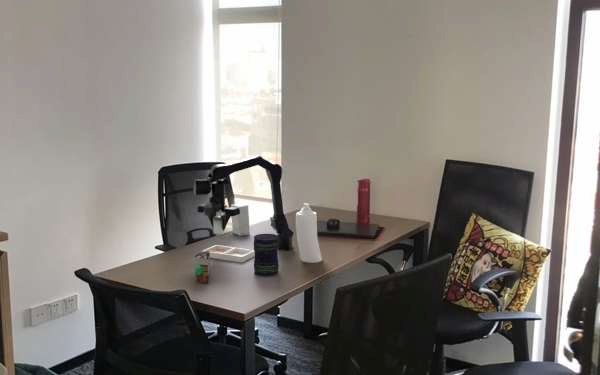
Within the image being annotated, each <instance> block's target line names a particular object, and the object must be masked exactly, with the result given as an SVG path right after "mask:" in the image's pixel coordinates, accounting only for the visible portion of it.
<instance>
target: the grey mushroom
mask: <svg viewBox="0 0 600 375" xmlns="http://www.w3.org/2000/svg"><path fill="white" fill-rule="evenodd" d="M221 216H222V215H216V216H214V217H213V227H212V229H213V234H215V235H222V234H225V230H223V229H222V218H221Z"/></svg>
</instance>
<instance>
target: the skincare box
mask: <svg viewBox="0 0 600 375" xmlns="http://www.w3.org/2000/svg"><path fill="white" fill-rule="evenodd" d="M230 206H231V207H236V208H239V210H240V214H238V215H236V216H231V224H232V225H231V227H232V228H231V229H232V233H233V234H235V235H238V236H249V235H250V230H251V229H250V216H249V205H248V204H245V203H241V202H240V203H234V204H231V205H230Z"/></svg>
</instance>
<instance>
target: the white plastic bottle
mask: <svg viewBox="0 0 600 375" xmlns="http://www.w3.org/2000/svg"><path fill="white" fill-rule="evenodd" d="M317 217H318V216H317V212H315V211H313V210H312V208H311V207H310V203H307V202H304V203H303V206H302V208H301V209H300V210H299V211H298V212H296V213H295V230H296V240H297V246H298V252H299V256H300V259H301V261H302V262H304V263H309V264H310V263H311V264H314V263H320V262H322V261H323V257H322V253H321V249H320V245H319V244H320V243H319V239H318V223H317V222H318V221H317V219H318V218H317Z"/></svg>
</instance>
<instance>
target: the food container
mask: <svg viewBox="0 0 600 375" xmlns="http://www.w3.org/2000/svg"><path fill="white" fill-rule="evenodd" d="M202 251H203V250H202ZM202 251H199V252H196V253H194V255H193V257H192V263H194V270H195V280H196V283H198V284H202V285H203V284H204V285H209V283H210V279H211V262H210V261H211V258H210V251H203V252H202Z"/></svg>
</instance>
